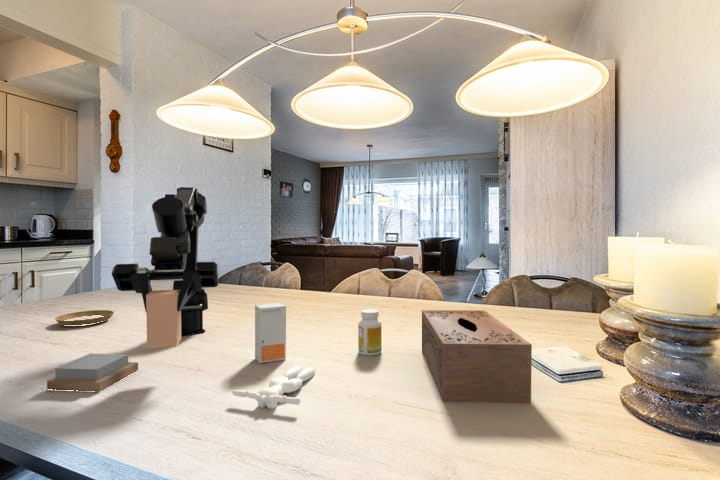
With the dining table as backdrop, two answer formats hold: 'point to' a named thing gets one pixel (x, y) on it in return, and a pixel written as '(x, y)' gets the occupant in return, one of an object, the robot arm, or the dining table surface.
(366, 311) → the supplement bottle
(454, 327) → the tissue box cover
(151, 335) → the terracotta block
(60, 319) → the plant saucer
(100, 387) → the tower base slab
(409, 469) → the dining table surface
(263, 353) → the skincare box
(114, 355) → the tower top slab
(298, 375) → the decorative figure
